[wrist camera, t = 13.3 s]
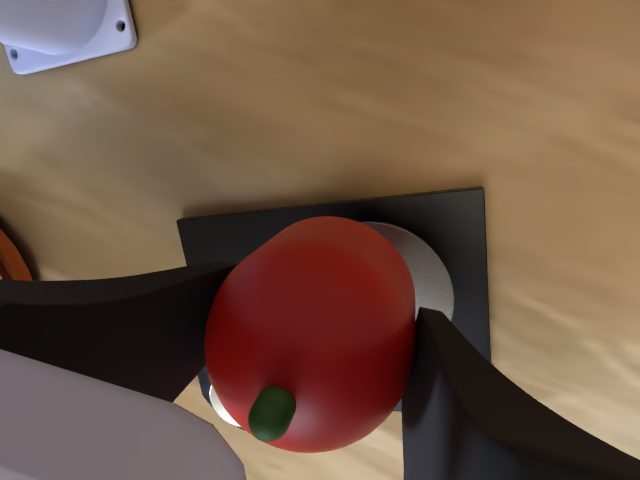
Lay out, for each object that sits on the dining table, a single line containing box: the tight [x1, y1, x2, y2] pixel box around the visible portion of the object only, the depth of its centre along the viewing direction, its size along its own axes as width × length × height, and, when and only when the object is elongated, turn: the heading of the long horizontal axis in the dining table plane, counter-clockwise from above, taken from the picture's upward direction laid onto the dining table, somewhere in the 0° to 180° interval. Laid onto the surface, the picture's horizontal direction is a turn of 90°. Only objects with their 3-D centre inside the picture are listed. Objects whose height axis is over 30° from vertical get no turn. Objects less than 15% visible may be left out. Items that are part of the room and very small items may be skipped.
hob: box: [177, 186, 491, 431], centre depth 20 cm, size 12×16×3 cm
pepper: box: [204, 216, 416, 453], centre depth 10 cm, size 5×5×6 cm
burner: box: [358, 221, 454, 321], centre depth 18 cm, size 8×8×1 cm
